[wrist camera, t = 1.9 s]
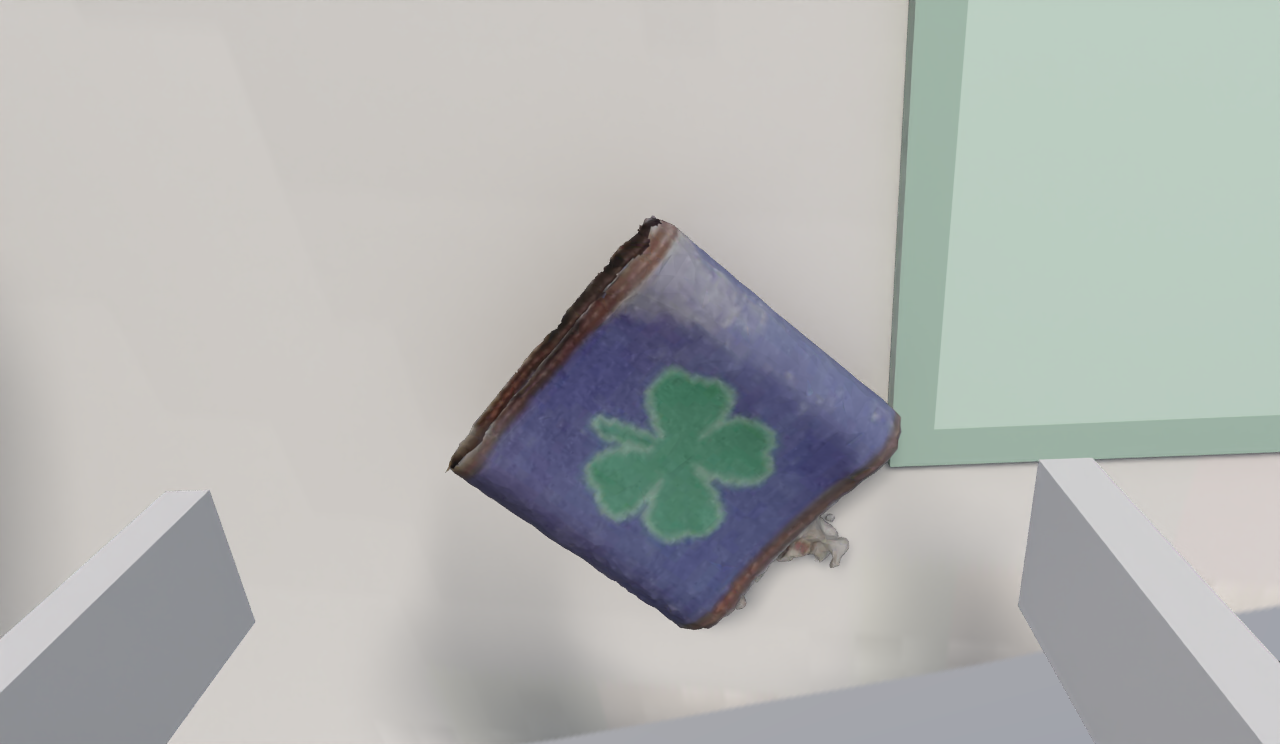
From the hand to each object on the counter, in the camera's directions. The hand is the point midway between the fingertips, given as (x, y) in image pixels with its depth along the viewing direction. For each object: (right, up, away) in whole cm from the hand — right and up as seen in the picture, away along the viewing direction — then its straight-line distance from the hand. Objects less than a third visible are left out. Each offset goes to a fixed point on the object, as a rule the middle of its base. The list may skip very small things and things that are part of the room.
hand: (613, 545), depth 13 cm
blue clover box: (-2, +4, +11) cm, 12 cm away
